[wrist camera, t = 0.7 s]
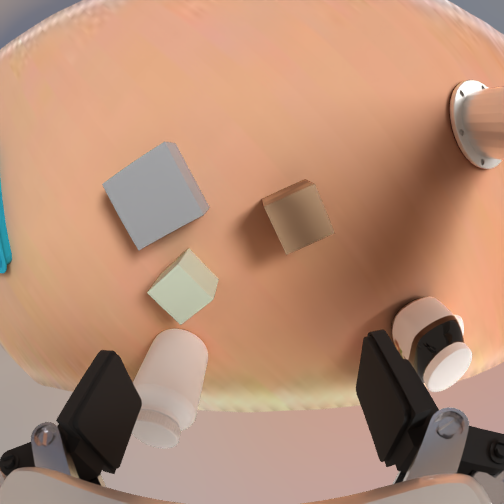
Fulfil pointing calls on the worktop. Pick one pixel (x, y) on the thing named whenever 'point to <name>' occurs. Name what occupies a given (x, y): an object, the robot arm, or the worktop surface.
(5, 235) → the ice cube tray
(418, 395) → the robot arm
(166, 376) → the pill bottle
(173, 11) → the worktop surface
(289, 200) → the walnut cube
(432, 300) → the spread jar
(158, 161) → the base block
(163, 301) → the sage cube
